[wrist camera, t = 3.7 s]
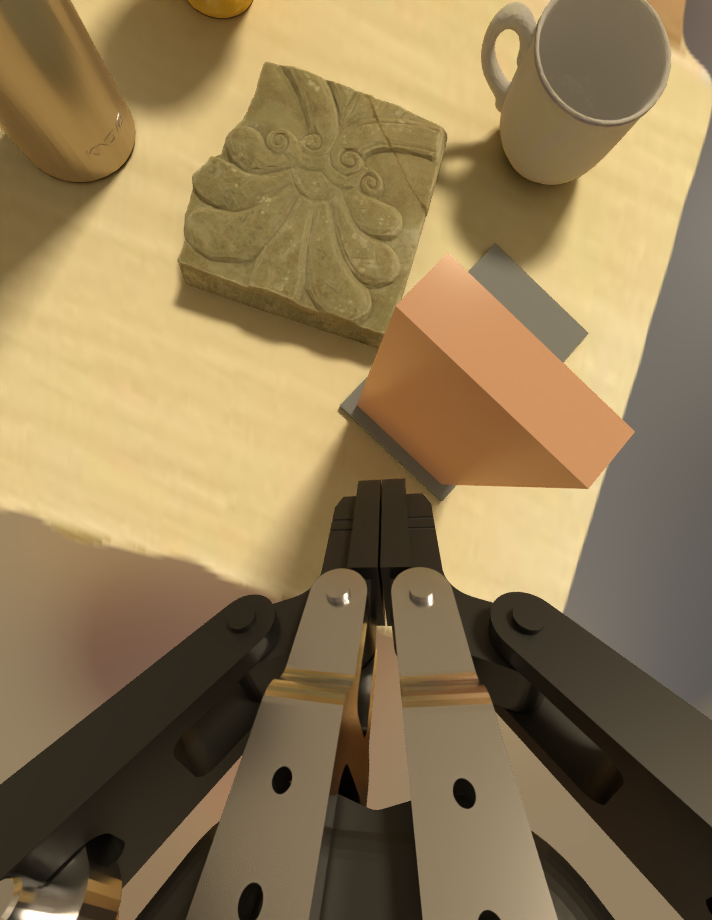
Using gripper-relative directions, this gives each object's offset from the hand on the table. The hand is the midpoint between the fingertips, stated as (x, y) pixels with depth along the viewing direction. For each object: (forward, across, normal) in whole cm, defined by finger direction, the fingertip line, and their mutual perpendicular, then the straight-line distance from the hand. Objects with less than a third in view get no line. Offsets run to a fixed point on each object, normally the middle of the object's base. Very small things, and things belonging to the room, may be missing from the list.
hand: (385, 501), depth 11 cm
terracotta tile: (+17, +2, -6) cm, 18 cm away
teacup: (+36, +14, +14) cm, 41 cm away
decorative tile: (+28, -6, +10) cm, 30 cm away
